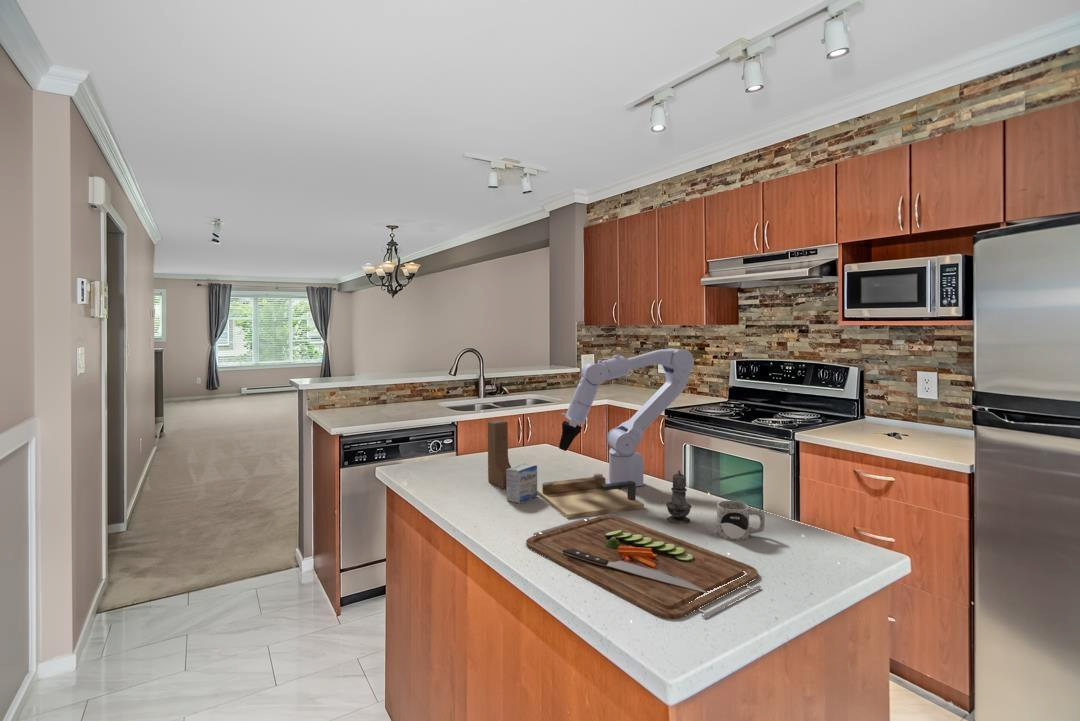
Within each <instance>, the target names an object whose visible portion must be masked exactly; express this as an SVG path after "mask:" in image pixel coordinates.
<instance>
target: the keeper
mask: <svg viewBox="0 0 1080 721" xmlns="http://www.w3.org/2000/svg"><path fill="white" fill-rule="evenodd" d="M636 488H637V486H636V483H635V482H633V481H627V482H618V483H610V484H602V485H600V489H602V490H604V491H606V490H614V489H618V490H621V489H627V495H628V498H627V499H629V500H637V499H636V494H637V493H636Z"/></svg>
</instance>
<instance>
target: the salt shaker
mask: <svg viewBox="0 0 1080 721" xmlns="http://www.w3.org/2000/svg"><path fill="white" fill-rule="evenodd" d="M670 490H671V493H672V494H671V495H672V496H671V501H669V502H666V504H665V505H666V508H667V512H668V514H670V516H668V517H667V518H666V519H667V521H668V523H669V522H670V523H671V524H674V525H675V524H676V525H686V524H689V523H690V522H691V519H690V518H689V517H688V515H689V514H690V513H691V509H692V508H693V506H692V504H691V503H689V502H687V498H686V496H687V494H686V493H687V491H688V490H687V488H686V476H685V475H684V474H683V473H681V470H680V469H679V470H678V471H677V473H675V474H674V475H673V476H672V487H671V489H670Z"/></svg>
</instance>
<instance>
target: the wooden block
mask: <svg viewBox="0 0 1080 721" xmlns="http://www.w3.org/2000/svg"><path fill="white" fill-rule="evenodd" d="M508 428H509V426H508V421H505V420H501V419H498V420H497V419H496V420H488V421H487V479H488V480H487V481H488V483H491V484H493V485H495V486H497V487H499V488H501V489H507V482H506V469H509V468H512V466H511V464H510V461H509V446H508V445H509V438H508V437H509V436H508V435H509V431H508Z"/></svg>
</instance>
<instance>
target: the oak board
mask: <svg viewBox="0 0 1080 721" xmlns="http://www.w3.org/2000/svg"><path fill="white" fill-rule="evenodd" d="M606 484H608V483H606ZM537 494H538V495H537V496H539V498H541V499H542V498H543V499H542V500H544V501H545V502H546V503H547V504H549V505H550V506H551V507H552V508H554V510H556V511H557V512H558V513H560V514H561V515H563V517H564V518H566V519H568V520H569V519H574V518H575V519H576V518H581V517H590V516H597V515H604V514H609V513H611V512H612V513H617V512H624V511H633V510H637V509H639V508H640V509H644V508H645V503H643V502H642V501H639V500H638V499H636V500H629V499H627V498H628V493H626V492H623V491H621V489H614V490H606V491H604V490H602V489H600V488H594V489H586V490H578V491H569V492H561V493H553V494H544V493H543V492H542V489H537ZM632 509H633V510H632ZM640 509H639V510H640ZM612 513H611V514H612Z"/></svg>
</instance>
